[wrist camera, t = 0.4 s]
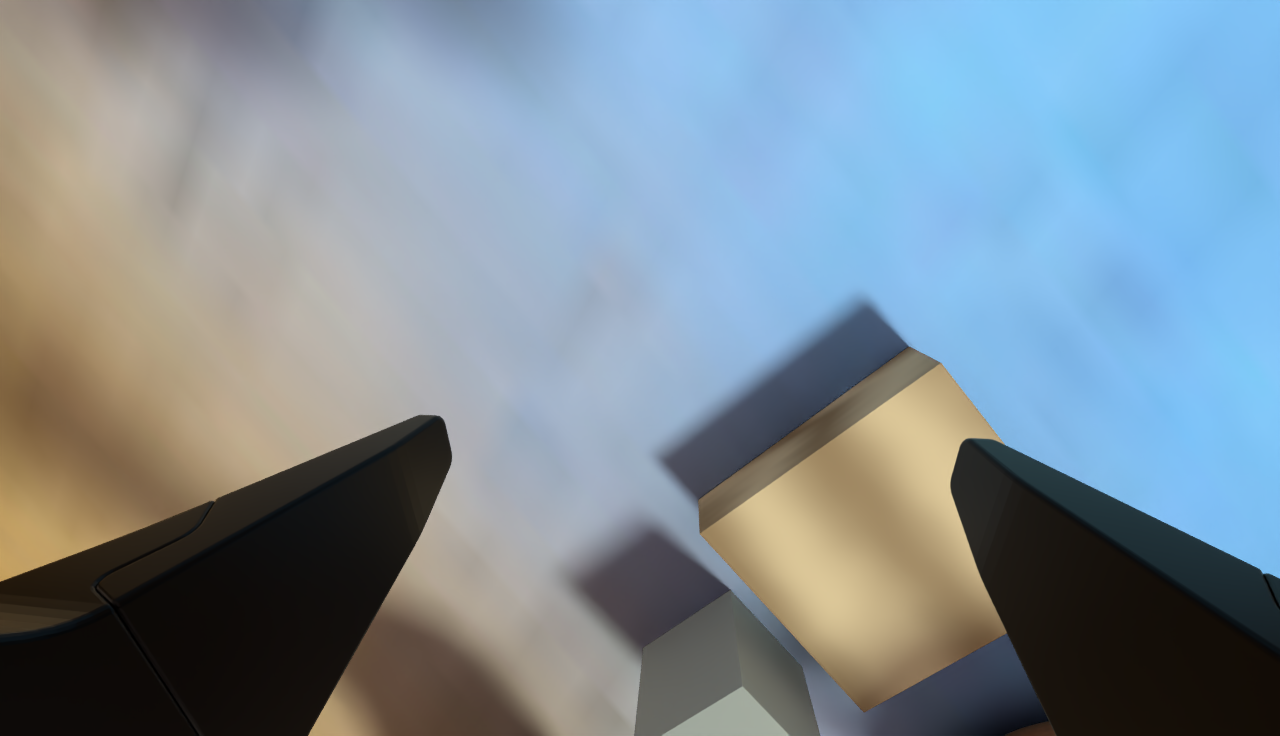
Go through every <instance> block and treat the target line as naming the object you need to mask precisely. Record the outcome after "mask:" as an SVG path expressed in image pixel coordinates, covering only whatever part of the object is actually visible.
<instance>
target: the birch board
mask: <svg viewBox="0 0 1280 736" xmlns="http://www.w3.org/2000/svg"><path fill="white" fill-rule="evenodd" d="M967 438H981V439H993V440H996V441H998V442H1000V443H1002V444H1004V443H1003V442H1002V440H1001V439H1000V438H999V437H998V435H997V434H996V433H995V431H994V430H993V429H992V428H991V426H990V425H989V424H988V422H987V421H986V420H985V419H984V417H983V416H982V415H981V413H980V412H979V411H978V410H977V408H976V407H975V406H974V405H973V403H972V402H971V401H970V399H969V398H968V397H967V396H966V394H965V393H964V392H963V390H962V389H961V388H960V387H959V385H958V384H957V383H956V381H955V380H954V379H953V378H952V376H951V375H950V374H949V372H948V371H947V370H946V369H945V367H944V366H943V365H942V363H940V362H938V361H936V360H934V359H933V358H931V357H929V356H927V355H925V354H923V353H921V352H919V351H917V350H915V349H913V348H911V347H908V348H906V349H905V350H904V351H902V352H901V353H899V354H898V355H897V356H895V357H894V358H893V359H891V360H890V361H888V362H887V363H886V364H884V365H883V366H882V367H880V368H879V369H877V370H876V371H875V372H873V373H872V374H871V375H869V376H868V377H866V378H865V379H864V380H862V381H861V382H860V383H858V384H857V385H855V386H854V387H853V388H851V389H850V390H849V391H847V392H846V393H844V394H843V395H842V396H840V397H839V398H838V399H836V400H835V401H833V402H832V403H831V404H829V405H828V406H827V407H825V408H824V409H822V410H821V411H820V412H818V413H817V414H816V415H814V416H813V417H811V418H810V419H809V420H807V421H806V422H805V423H803V424H802V425H801V426H799V427H798V428H796V429H795V430H794V431H792V432H791V433H790V434H788V435H787V436H785V437H784V438H783V439H781V440H780V441H779V442H777V443H776V444H774V445H773V446H772V447H770V448H769V449H768V450H766V451H765V452H763V453H762V454H761V455H759V456H758V457H757V458H755V459H754V460H752V461H751V462H750V463H748V464H747V465H746V466H744V467H743V468H741V469H740V470H739V471H737V472H736V473H735V474H733V475H732V476H730V477H729V478H728V479H726V480H725V481H724V482H722V483H721V484H719V485H718V486H717V487H715V488H714V489H713V490H711V491H710V492H709V493H707V494H706V495H704V496H703V497H702V498H700V499H699V500H698V504H699V527H700V535H701V536H702V537H703V538H704V539H705V540H706V541H707V542H708V543H709V544H710V545H711V547H712V548H713V549H714V550H715V551H716V552H717V553H718V554H719V555H720V556H721V557H722V559H723V560H724V561H725V562H726V563H727V564H728V565H729V566H730V567H731V568H732V569H733V571H734V572H735V573H736V574H737V575H738V576H739V577H740V578H741V579H742V580H743V581H744V583H745V584H746V585H747V586H748V587H749V588H750V589H751V590H752V591H753V592H754V593H755V595H756V596H757V597H758V598H759V599H760V600H761V601H762V602H763V603H764V604H765V605H766V606H767V608H768V609H769V610H770V611H771V612H772V613H773V614H774V615H775V616H776V617H777V618H778V620H779V621H780V622H781V623H782V624H783V625H784V626H785V627H786V628H787V629H788V630H789V632H790V633H791V634H792V635H793V636H794V637H795V638H796V639H797V640H798V641H799V642H800V644H801V645H802V646H803V647H804V648H805V649H806V650H807V651H808V652H809V653H810V654H811V656H812V657H813V658H814V659H815V660H816V661H817V662H818V663H819V664H820V665H821V666H822V667H823V669H824V670H825V671H826V672H827V673H828V674H829V675H830V676H831V677H832V678H833V679H834V681H835V682H836V683H837V684H838V685H839V686H840V687H841V688H842V689H843V690H844V691H845V693H846V694H847V695H848V696H849V697H850V698H851V699H852V700H853V701H854V702H855V703H856V705H857V706H858V707H859V708H860V709H861V710H862V711H863V712H866V711H868V710H870V709H871V708H873V707H875V706H877V705H879V704H880V703H882V702H884V701H886V700H888V699H889V698H891V697H893V696H895V695H897V694H898V693H900V692H902V691H904V690H906V689H907V688H909V687H911V686H913V685H915V684H916V683H918V682H920V681H922V680H924V679H925V678H927V677H929V676H931V675H933V674H934V673H936V672H938V671H940V670H942V669H943V668H945V667H947V666H949V665H951V664H952V663H954V662H956V661H958V660H960V659H961V658H963V657H965V656H967V655H969V654H970V653H972V652H974V651H976V650H978V649H979V648H981V647H983V646H985V645H987V644H988V643H990V642H992V641H994V640H996V639H997V638H999V637H1001V636H1003V635H1005V634H1006V633H1007V632H1006V630H1005V628H1004V626H1003V624H1002V622H1001V620H1000V617H999V615H998V613H997V611H996V609H995V607H994V605H993V603H992V601H991V599H990V597H989V594H988V592H987V590H986V588H985V586H984V584H983V581H982V579H981V577H980V574H979V572H978V569H977V567H976V564H975V561H974V558H973V555H972V552H971V549H970V547H969V544H968V541H967V538H966V535H965V532H964V529H963V526H962V523H961V520H960V517H959V515H958V512H957V509H956V506H955V503H954V500H953V497H952V494H951V489H950V481H951V476H952V472H953V469H954V465H955V462H956V458H957V454H958V451H959V447H960V445H961V443H962V442H963V441H964V440H965V439H967ZM1004 445H1005V444H1004Z"/></svg>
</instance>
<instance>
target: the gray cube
mask: <svg viewBox="0 0 1280 736" xmlns="http://www.w3.org/2000/svg"><path fill="white" fill-rule="evenodd" d="M634 736H820V733H819V729H818V725H817V721H816V718H815V714H814V710H813V706H812V703H811V699H810V695H809V691H808V688H807V684H806V680H805V676H804V673H803V669H802V667H801V666H800V664H799V663H798V662H797V661H796V660H795V659H794V658H793V657H792V656H791V655H790V654H789V653H788V651H787V650H786V649H785V648H784V647H783V646H782V645H781V644H780V643H779V642H778V641H777V640H776V638H775V637H774V636H773V635H772V634H771V633H770V632H769V631H768V630H767V629H766V628H765V627H764V626H763V624H762V623H761V622H760V621H759V620H758V619H757V618H756V617H755V616H754V615H753V614H752V613H751V611H750V610H749V609H748V608H747V607H746V606H745V605H744V604H743V603H742V602H741V601H740V600H739V598H738V597H737V596H736V595H735V594H734V593H733V592H732V591H731V590H730V591H728V592H727V593H725V594H724V595H722V596H721V597H719V598H718V599H716V600H715V601H713V602H712V603H710V604H708V605H707V606H705V607H704V608H702V609H701V610H699V611H698V612H696V613H695V614H693V615H692V616H690V617H689V618H687V619H686V620H684V621H683V622H681V623H680V624H678V625H677V626H675V627H674V628H672V629H671V630H669V631H668V632H666V633H665V634H663V635H662V636H660V637H659V638H657V639H656V640H654V641H653V642H651V643H650V644H648V645H647V646H645V647H644V648H643V655H642V665H641V675H640V685H639V694H638V704H637V714H636V724H635V734H634Z"/></svg>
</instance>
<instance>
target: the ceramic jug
mask: <svg viewBox="0 0 1280 736" xmlns="http://www.w3.org/2000/svg"><path fill="white" fill-rule="evenodd" d="M1004 736H1056V735H1055V732H1054V730H1053V728H1052V726H1051V724H1050V722H1049V721H1047V722H1042V723H1038V724H1034V725H1030V726H1027V727H1023V728H1020V729H1018V730H1015V731H1013V732H1010V733H1008V734H1006V735H1004Z"/></svg>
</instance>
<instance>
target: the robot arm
mask: <svg viewBox="0 0 1280 736" xmlns="http://www.w3.org/2000/svg"><path fill="white" fill-rule="evenodd" d="M451 462H452V451H451V447H450V443H449V438H448V434H447V429H446V425H445V422H444V420H443V418H441V417H440V416H436V415H418V416H415V417H413V418H410V419H408V420H406V421H403V422H401V423H398V424H396V425H394V426H391V427H389V428H386V429H384V430H381V431H379V432H377V433H374V434H372V435H369V436H367V437H365V438H362V439H360V440H357V441H355V442H352V443H350V444H348V445H345V446H343V447H340V448H338V449H335V450H333V451H331V452H328V453H326V454H323V455H321V456H319V457H316V458H314V459H311V460H309V461H306V462H304V463H302V464H299V465H297V466H294V467H292V468H290V469H287V470H285V471H282V472H280V473H277V474H275V475H273V476H270V477H268V478H265V479H263V480H261V481H258V482H256V483H253V484H251V485H248V486H246V487H244V488H241V489H239V490H236V491H234V492H231V493H229V494H227V495H224V496H222V497H219V498H217V499H216V501H215V502H214V501H209V502H207V503H205V504H202V505H200V506H197V507H195V508H193V509H190V510H188V511H185V512H183V513H180V514H178V515H175V516H173V517H170V518H168V519H165V520H163V521H160V522H158V523H155V524H153V525H150V526H148V527H145V528H143V529H140V530H138V531H135V532H132V533H130V534H127V535H124V536H122V537H119V538H117V539H114V540H111V541H109V542H106V543H103V544H101V545H98V546H95V547H93V548H90V549H87V550H85V551H82V552H79V553H77V554H74V555H71V556H68V557H66V558H63V559H60V560H58V561H55V562H52V563H49V564H47V565H44V566H41V567H39V568H36V569H33V570H31V571H28V572H25V573H22V574H20V575H17V576H14V577H12V578H9V579H6V580H3V581H1V582H0V736H308V735H309V733H310V731H311V729H312V727H313V726H314V724H315V722H316V720H317V719H318V717H319V715H320V713H321V711H322V710H323V708H324V706H325V704H326V703H327V701H328V699H329V697H330V696H331V694H332V692H333V690H334V688H335V687H336V685H337V683H338V681H339V680H340V678H341V676H342V674H343V672H344V671H345V669H346V667H347V665H348V664H349V662H350V660H351V658H352V656H353V655H354V653H355V651H356V649H357V648H358V646H359V644H360V642H361V640H362V639H363V637H364V635H365V633H366V632H367V630H368V628H369V626H370V624H371V623H372V621H373V619H374V617H375V616H376V614H377V612H378V610H379V608H380V607H381V605H382V603H383V601H384V600H385V598H386V596H387V594H388V592H389V591H390V589H391V587H392V585H393V584H394V582H395V580H396V578H397V576H398V575H399V573H400V571H401V569H402V568H403V566H404V564H405V562H406V560H407V559H408V557H409V555H410V553H411V552H412V550H413V548H414V546H415V544H416V542H417V541H418V539H419V537H420V535H421V533H422V531H423V528H424V526H425V524H426V522H427V520H428V517H429V515H430V513H431V510H432V508H433V506H434V503H435V501H436V499H437V496H438V494H439V492H440V489H441V487H442V485H443V482H444V480H445V478H446V475H447V473H448V471H449V468H450V466H451ZM950 489H951V494H952V497H953V500H954V503H955V506H956V509H957V512H958V515H959V517H960V520H961V523H962V526H963V529H964V532H965V535H966V538H967V541H968V544H969V547H970V549H971V552H972V555H973V558H974V561H975V564H976V567H977V569H978V572H979V574H980V577H981V579H982V581H983V584H984V586H985V588H986V590H987V592H988V594H989V597H990V599H991V601H992V603H993V605H994V607H995V609H996V611H997V613H998V615H999V617H1000V620H1001V622H1002V624H1003V626H1004V628H1005V630H1006V632H1007V634H1008V636H1009V638H1010V640H1011V643H1012V645H1013V647H1014V649H1015V651H1016V653H1017V655H1018V657H1019V659H1020V661H1021V663H1022V666H1023V668H1024V670H1025V672H1026V674H1027V676H1028V678H1029V680H1030V682H1031V684H1032V686H1033V689H1034V691H1035V693H1036V695H1037V697H1038V699H1039V701H1040V703H1041V705H1042V707H1043V709H1044V712H1045V714H1046V716H1047V718H1048V720H1049V722H1050V724H1051V726H1052V728H1053V730H1054V732H1055V735H1056V736H1280V579H1279V578H1277V577H1275V576H1273V575H1271V574H1268V573H1266V574H1263V573H1262V571H1261V570H1260V569H1258V568H1256V567H1254V566H1252V565H1250V564H1248V563H1246V562H1244V561H1242V560H1240V559H1238V558H1236V557H1234V556H1232V555H1230V554H1228V553H1226V552H1224V551H1222V550H1220V549H1217V548H1215V547H1213V546H1211V545H1209V544H1207V543H1205V542H1203V541H1201V540H1199V539H1197V538H1195V537H1193V536H1191V535H1189V534H1187V533H1185V532H1183V531H1181V530H1178V529H1176V528H1174V527H1172V526H1170V525H1168V524H1166V523H1164V522H1162V521H1160V520H1158V519H1156V518H1154V517H1152V516H1150V515H1148V514H1146V513H1144V512H1142V511H1139V510H1137V509H1135V508H1133V507H1131V506H1129V505H1127V504H1125V503H1123V502H1121V501H1119V500H1117V499H1115V498H1113V497H1111V496H1109V495H1107V494H1105V493H1103V492H1100V491H1098V490H1096V489H1094V488H1092V487H1090V486H1088V485H1086V484H1084V483H1082V482H1080V481H1078V480H1076V479H1074V478H1072V477H1070V476H1068V475H1066V474H1064V473H1061V472H1059V471H1057V470H1055V469H1053V468H1051V467H1049V466H1047V465H1045V464H1043V463H1041V462H1039V461H1037V460H1035V459H1033V458H1031V457H1029V456H1027V455H1025V454H1022V453H1020V452H1018V451H1016V450H1014V449H1012V448H1010V447H1008V446H1006V445H1004V444H1002V443H1000V442H998V441H996V440H993V439H981V438H967V439H965V440H964V441H963V442H962V443H961V445H960V447H959V451H958V454H957V458H956V462H955V465H954V469H953V472H952V476H951V481H950Z"/></svg>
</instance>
